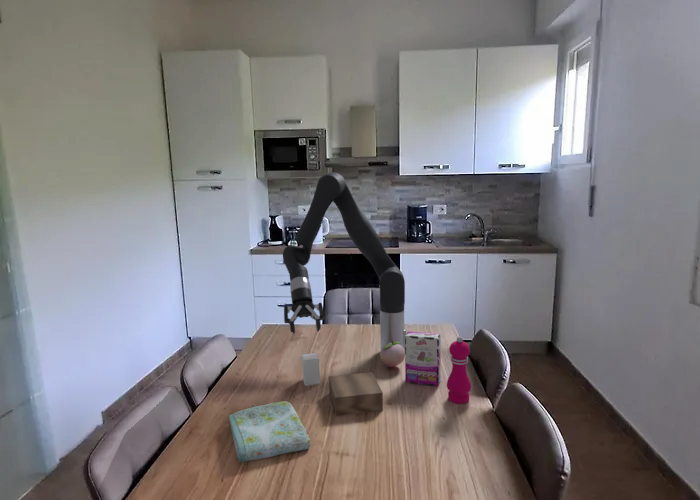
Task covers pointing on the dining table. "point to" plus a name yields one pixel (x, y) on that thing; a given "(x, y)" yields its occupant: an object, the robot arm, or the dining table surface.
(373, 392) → the walnut block
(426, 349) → the candy bar box
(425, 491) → the dining table surface
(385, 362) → the decorative fruit
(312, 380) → the pale grey block
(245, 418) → the towel
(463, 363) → the pepper mill
